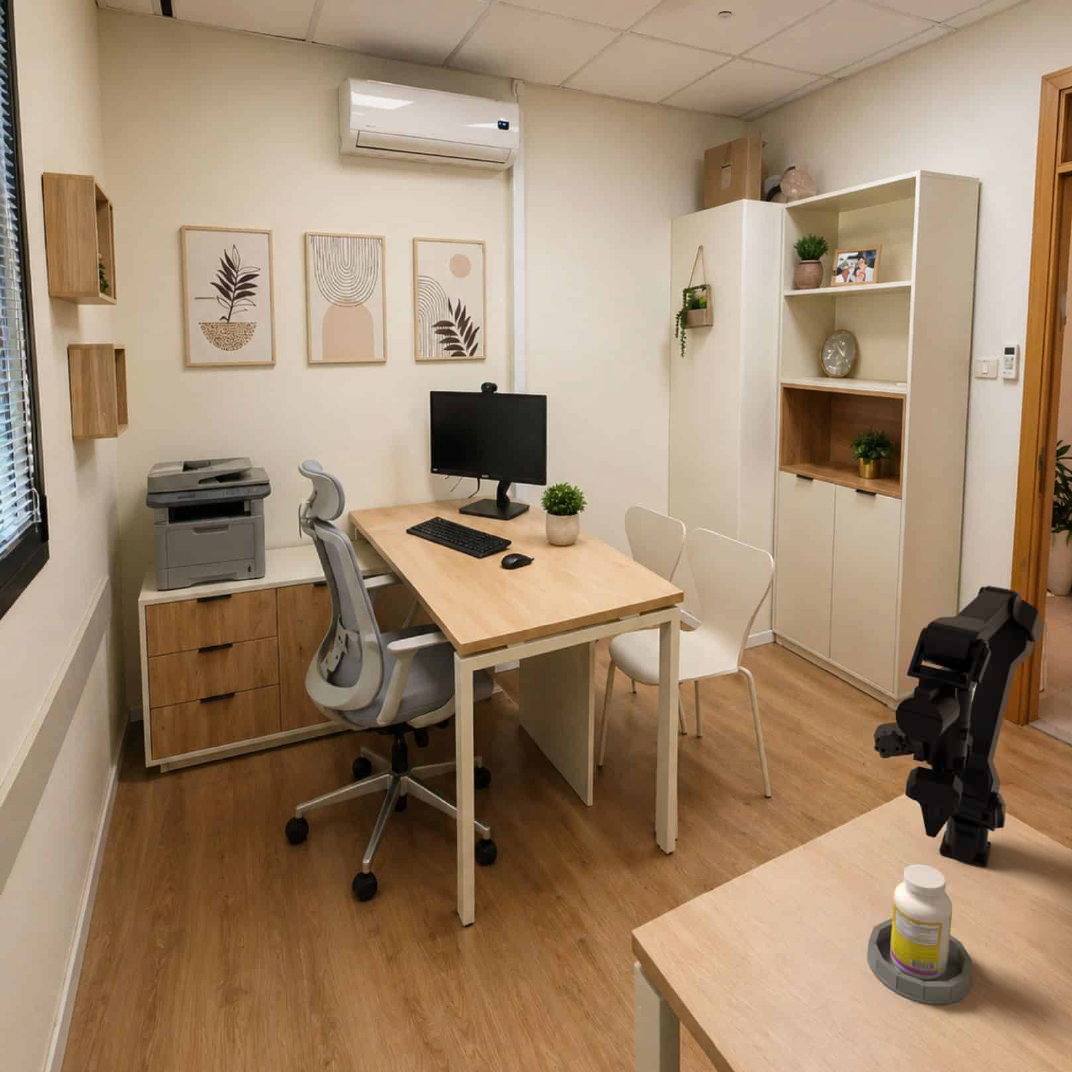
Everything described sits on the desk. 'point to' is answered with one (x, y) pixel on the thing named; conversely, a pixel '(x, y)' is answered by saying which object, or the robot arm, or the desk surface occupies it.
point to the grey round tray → (919, 990)
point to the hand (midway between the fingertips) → (935, 819)
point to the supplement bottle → (921, 923)
